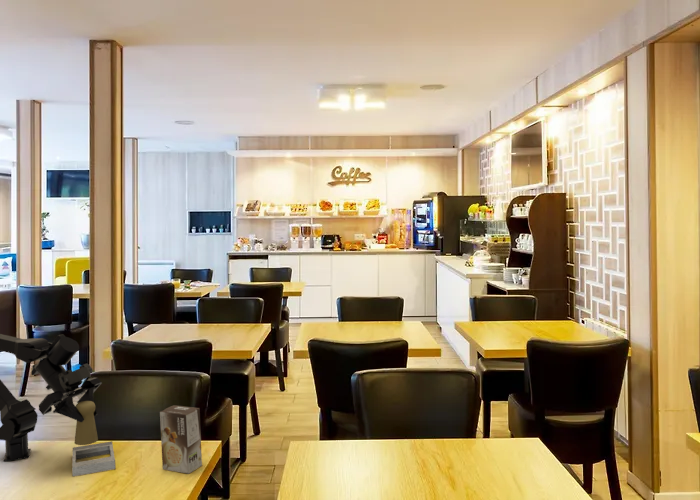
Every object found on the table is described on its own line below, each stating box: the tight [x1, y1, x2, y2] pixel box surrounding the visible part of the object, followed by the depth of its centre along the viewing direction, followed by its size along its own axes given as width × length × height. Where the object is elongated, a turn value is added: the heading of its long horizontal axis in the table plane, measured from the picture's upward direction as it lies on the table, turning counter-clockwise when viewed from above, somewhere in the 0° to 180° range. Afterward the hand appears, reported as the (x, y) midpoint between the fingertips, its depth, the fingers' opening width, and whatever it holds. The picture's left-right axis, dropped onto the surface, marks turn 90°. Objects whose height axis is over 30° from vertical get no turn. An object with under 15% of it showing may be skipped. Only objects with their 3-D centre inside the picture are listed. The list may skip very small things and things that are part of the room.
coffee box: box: [159, 404, 203, 474], centre depth 164 cm, size 9×6×16 cm
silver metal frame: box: [71, 441, 116, 477], centre depth 169 cm, size 16×11×2 cm
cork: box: [74, 401, 99, 446], centre depth 166 cm, size 6×6×11 cm
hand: (89, 417), depth 166 cm, fingers closed on cork, 5 cm apart
